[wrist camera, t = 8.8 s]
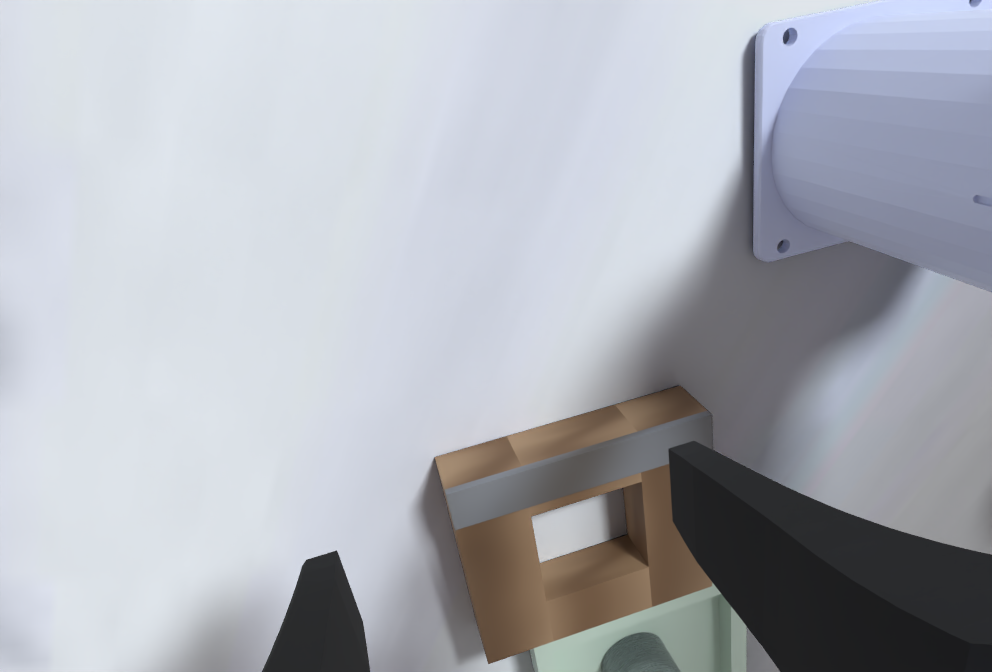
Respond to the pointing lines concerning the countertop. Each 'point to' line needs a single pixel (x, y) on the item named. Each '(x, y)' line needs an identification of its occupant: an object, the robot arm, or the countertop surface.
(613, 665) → the pin
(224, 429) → the countertop surface
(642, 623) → the tray
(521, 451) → the block
